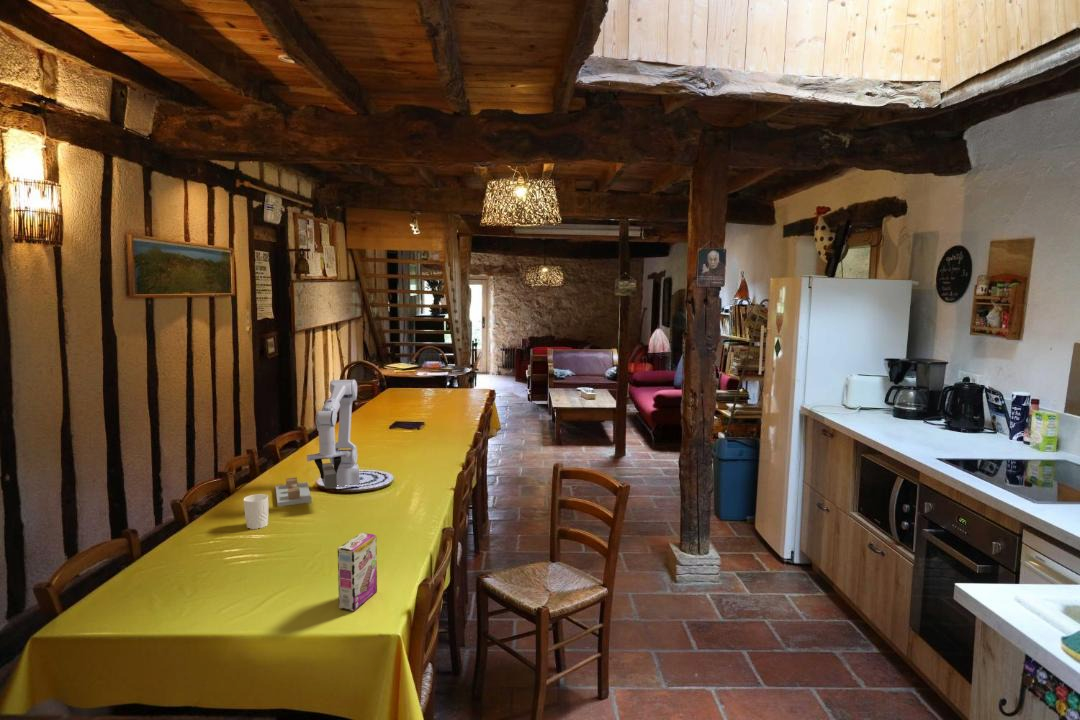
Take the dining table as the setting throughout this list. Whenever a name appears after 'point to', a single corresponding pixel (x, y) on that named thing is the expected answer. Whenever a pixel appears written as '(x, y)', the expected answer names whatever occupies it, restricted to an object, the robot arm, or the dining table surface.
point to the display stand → (293, 493)
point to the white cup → (256, 510)
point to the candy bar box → (357, 571)
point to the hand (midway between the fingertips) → (328, 477)
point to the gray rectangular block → (329, 476)
